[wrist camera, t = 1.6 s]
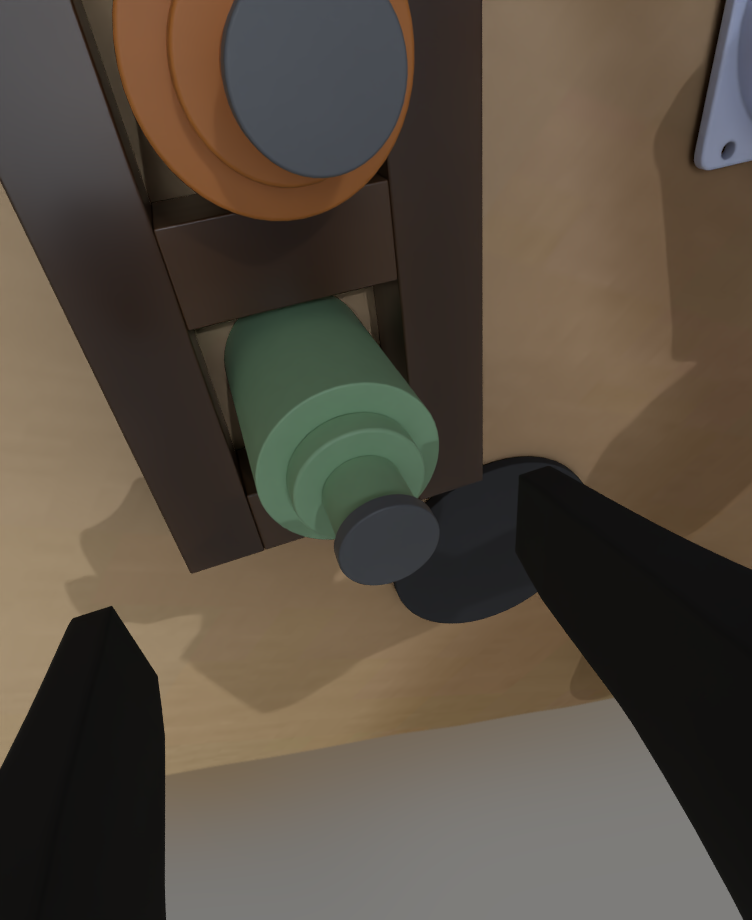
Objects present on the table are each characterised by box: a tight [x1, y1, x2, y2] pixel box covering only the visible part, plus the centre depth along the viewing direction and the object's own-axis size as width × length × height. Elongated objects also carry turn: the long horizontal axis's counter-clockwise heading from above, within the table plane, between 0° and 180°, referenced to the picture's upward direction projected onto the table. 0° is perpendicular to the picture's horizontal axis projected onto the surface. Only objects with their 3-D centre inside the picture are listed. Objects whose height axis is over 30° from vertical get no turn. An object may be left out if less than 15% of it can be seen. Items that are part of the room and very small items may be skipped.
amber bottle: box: [112, 0, 414, 221], centre depth 10 cm, size 5×5×9 cm
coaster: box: [394, 457, 583, 623], centre depth 27 cm, size 10×10×1 cm
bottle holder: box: [0, 0, 483, 573], centre depth 15 cm, size 11×19×3 cm, turn 7°
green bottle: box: [224, 296, 439, 585], centre depth 15 cm, size 5×5×9 cm
